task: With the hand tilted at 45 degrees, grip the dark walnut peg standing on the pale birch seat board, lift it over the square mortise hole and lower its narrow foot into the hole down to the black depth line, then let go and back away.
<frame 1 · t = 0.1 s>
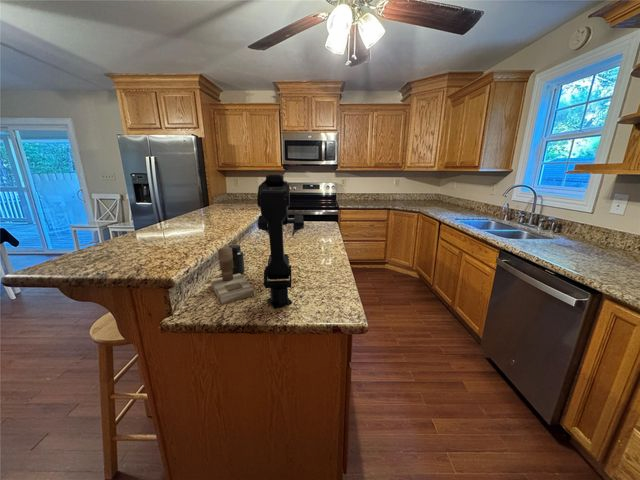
hand: (282, 235, 110), 15 cm above the countertop, tool tilted 35°, fingers open, 9 cm apart
walnut peg: (227, 279, 95), point 2 cm above the countertop, touching seat board
seat board: (232, 290, 92), on the countertop
supplement bottle: (236, 273, 107), on the countertop
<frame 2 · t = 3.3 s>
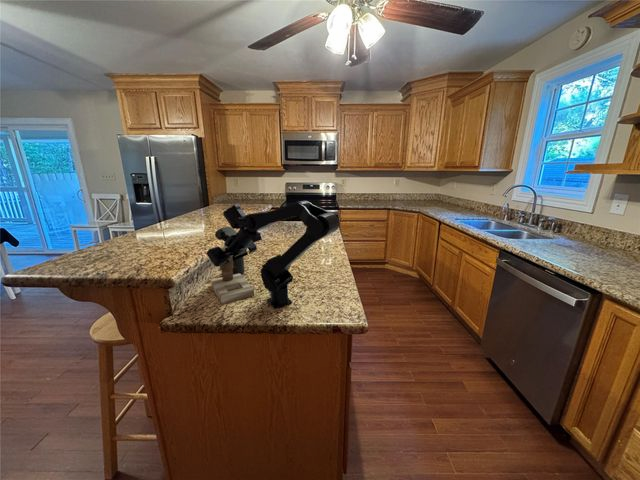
hand: (223, 262, 94), 9 cm above the countertop, tool tilted 45°, fingers closed on walnut peg, 5 cm apart
walnut peg: (227, 279, 95), point 3 cm above the countertop, touching gripper, seat board
everything else where it was.
when the fingers open (7 cm above the countertop, at t = 6.6 s): walnut peg stays where it is, resting in seat board.
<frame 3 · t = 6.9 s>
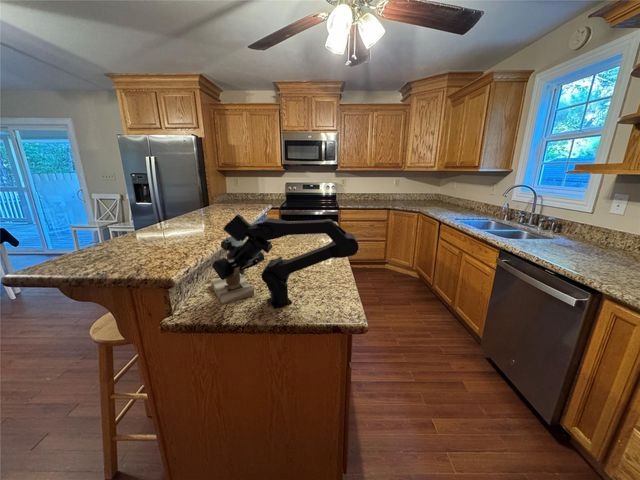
hand: (229, 273, 88), 7 cm above the countertop, tool tilted 45°, fingers open, 7 cm apart
walnut peg: (234, 293, 90), resting in seat board
everything else where it was.
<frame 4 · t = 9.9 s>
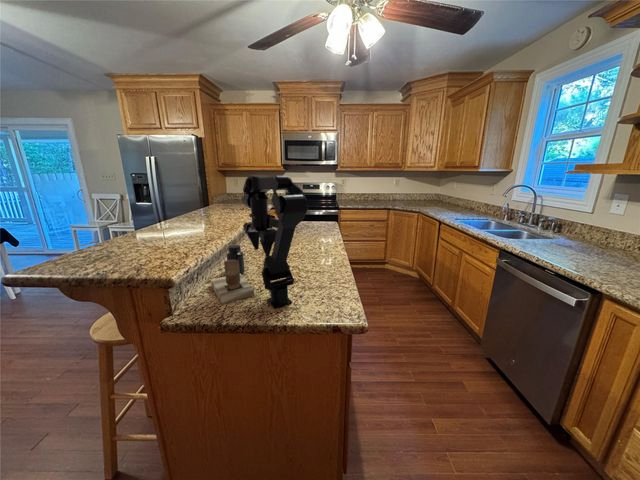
hand: (262, 252, 92), 13 cm above the countertop, tool pointing down, fingers open, 9 cm apart
nothing on the countertop moved.
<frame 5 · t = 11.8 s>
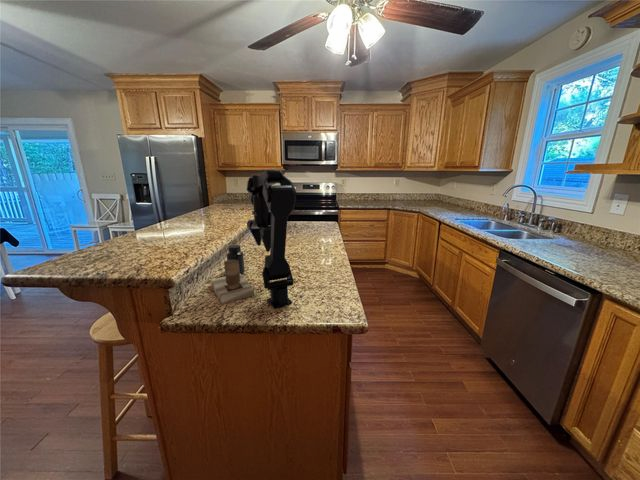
hand: (263, 248, 98), 13 cm above the countertop, tool pointing down, fingers open, 9 cm apart
nothing on the countertop moved.
at the end: walnut peg 0.1 cm from the target spot in the seat board, point 0.0 cm above the seat board's base; walnut peg tilted 0°; the gripper is holding nothing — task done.
